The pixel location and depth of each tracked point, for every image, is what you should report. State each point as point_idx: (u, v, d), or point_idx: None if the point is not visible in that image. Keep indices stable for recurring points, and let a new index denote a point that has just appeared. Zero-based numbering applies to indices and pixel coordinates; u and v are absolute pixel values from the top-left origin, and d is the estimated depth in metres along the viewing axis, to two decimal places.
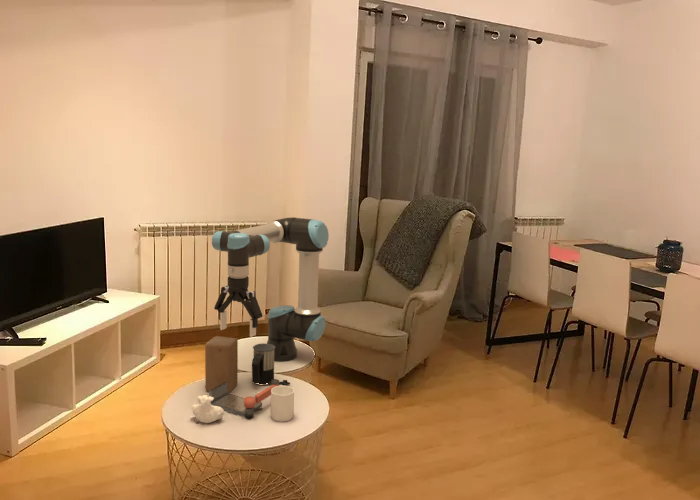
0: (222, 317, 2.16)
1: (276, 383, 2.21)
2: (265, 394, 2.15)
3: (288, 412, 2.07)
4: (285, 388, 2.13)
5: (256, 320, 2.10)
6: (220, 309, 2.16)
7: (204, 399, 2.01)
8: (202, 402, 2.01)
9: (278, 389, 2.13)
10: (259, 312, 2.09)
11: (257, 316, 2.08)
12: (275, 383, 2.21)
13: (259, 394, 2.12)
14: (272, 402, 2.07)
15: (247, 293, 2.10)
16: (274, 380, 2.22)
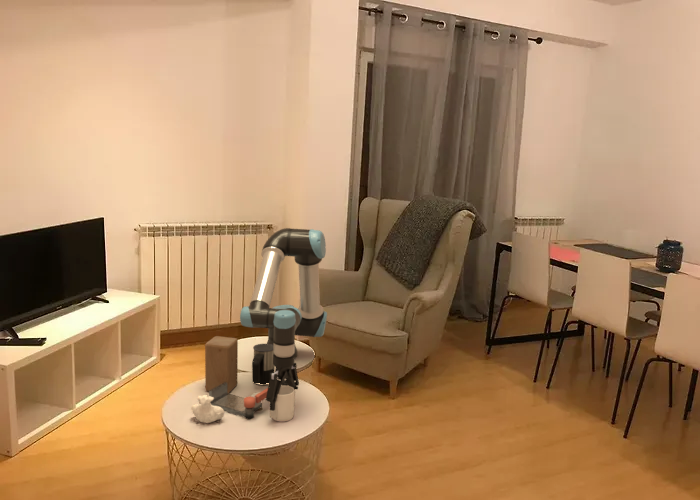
0: None
1: None
2: (265, 394, 2.15)
3: (288, 412, 2.07)
4: (285, 388, 2.13)
5: (271, 403, 2.05)
6: None
7: (204, 399, 2.01)
8: (202, 402, 2.01)
9: None
10: (269, 396, 2.03)
11: None
12: None
13: (259, 394, 2.12)
14: None
15: None
16: None
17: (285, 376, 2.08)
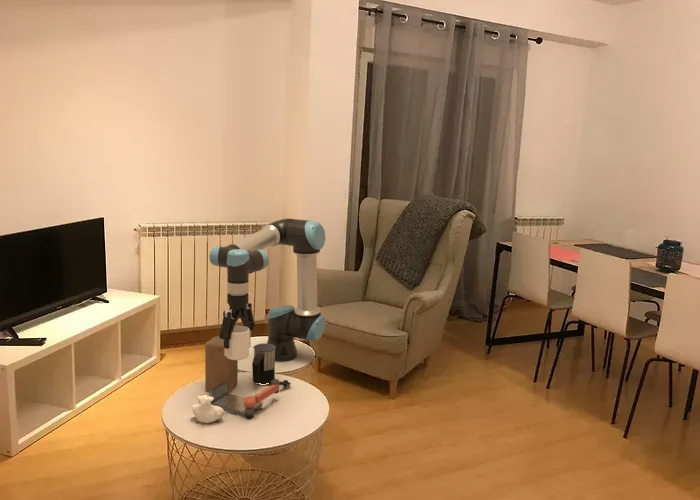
0: None
1: (276, 383, 2.21)
2: (265, 394, 2.15)
3: (243, 350, 2.08)
4: (240, 328, 2.14)
5: (225, 341, 2.06)
6: None
7: (204, 399, 2.01)
8: (202, 402, 2.01)
9: (233, 329, 2.14)
10: (223, 334, 2.04)
11: None
12: (275, 383, 2.21)
13: (259, 394, 2.12)
14: None
15: None
16: (274, 380, 2.22)
17: (239, 315, 2.08)
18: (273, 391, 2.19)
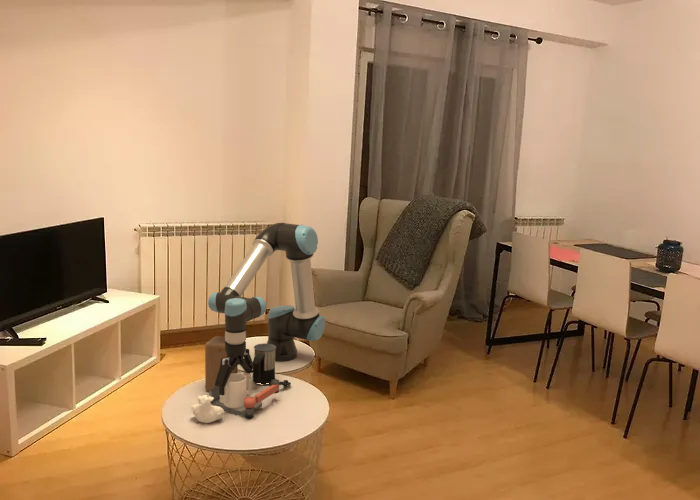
0: None
1: (276, 383, 2.21)
2: (265, 394, 2.15)
3: (240, 399, 2.12)
4: (238, 376, 2.18)
5: (220, 388, 2.08)
6: None
7: (204, 399, 2.01)
8: (202, 402, 2.01)
9: (231, 377, 2.17)
10: (218, 381, 2.06)
11: None
12: (275, 383, 2.21)
13: (259, 394, 2.12)
14: None
15: None
16: (274, 380, 2.22)
17: (236, 363, 2.12)
18: (273, 391, 2.19)
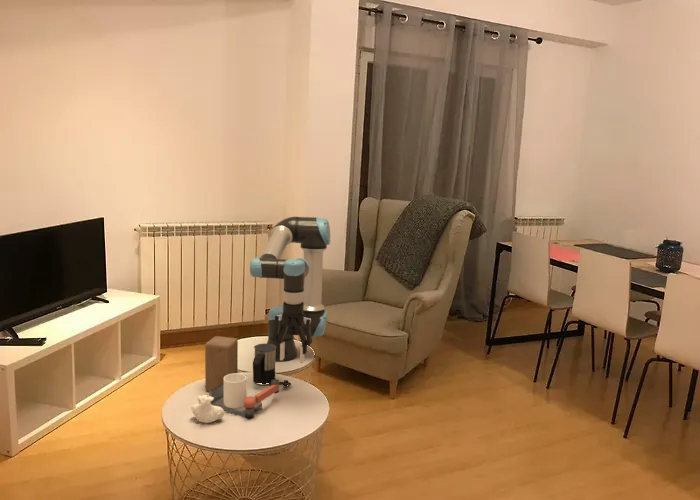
0: None
1: (276, 383, 2.21)
2: (265, 394, 2.15)
3: (240, 399, 2.12)
4: (238, 376, 2.18)
5: None
6: None
7: (204, 399, 2.01)
8: (202, 402, 2.01)
9: (231, 377, 2.17)
10: None
11: None
12: (275, 383, 2.21)
13: (259, 394, 2.12)
14: (224, 389, 2.12)
15: None
16: (274, 380, 2.22)
17: (288, 322, 2.15)
18: (273, 391, 2.19)
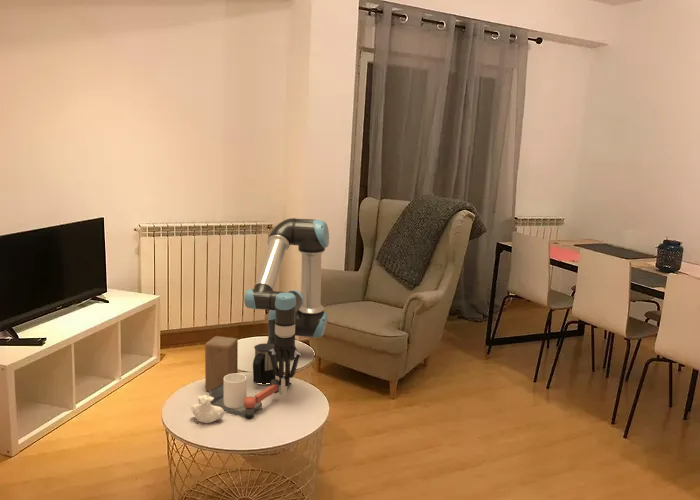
0: None
1: (276, 383, 2.21)
2: (265, 394, 2.15)
3: (240, 399, 2.12)
4: (238, 376, 2.18)
5: None
6: None
7: (204, 399, 2.01)
8: (202, 402, 2.01)
9: (231, 377, 2.17)
10: None
11: None
12: (275, 383, 2.21)
13: (259, 394, 2.12)
14: (224, 389, 2.12)
15: None
16: (274, 380, 2.22)
17: (281, 354, 2.18)
18: (273, 391, 2.19)
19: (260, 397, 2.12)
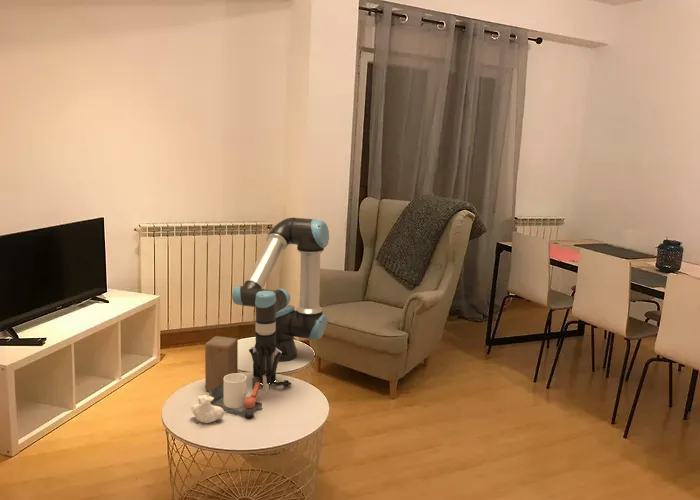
0: None
1: (259, 380, 2.23)
2: (257, 392, 2.16)
3: (240, 399, 2.12)
4: (238, 376, 2.18)
5: None
6: None
7: (204, 399, 2.01)
8: (202, 402, 2.01)
9: (231, 377, 2.17)
10: None
11: None
12: (258, 380, 2.23)
13: (254, 393, 2.13)
14: (224, 389, 2.12)
15: None
16: (255, 378, 2.24)
17: (262, 352, 2.20)
18: (259, 388, 2.21)
19: (255, 395, 2.13)
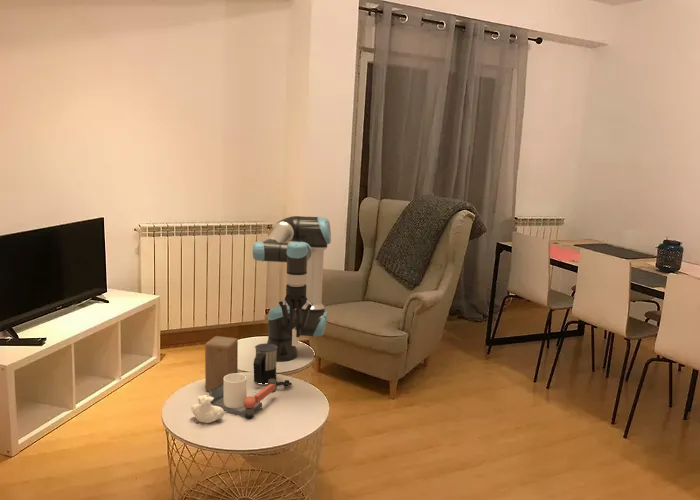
0: None
1: (273, 382, 2.22)
2: (264, 394, 2.15)
3: (240, 399, 2.12)
4: (238, 376, 2.18)
5: None
6: None
7: (204, 399, 2.01)
8: (202, 402, 2.01)
9: (231, 377, 2.17)
10: None
11: None
12: (272, 382, 2.21)
13: (258, 394, 2.12)
14: (224, 389, 2.12)
15: None
16: (271, 379, 2.23)
17: (292, 304, 2.16)
18: (271, 390, 2.20)
19: (259, 397, 2.12)
